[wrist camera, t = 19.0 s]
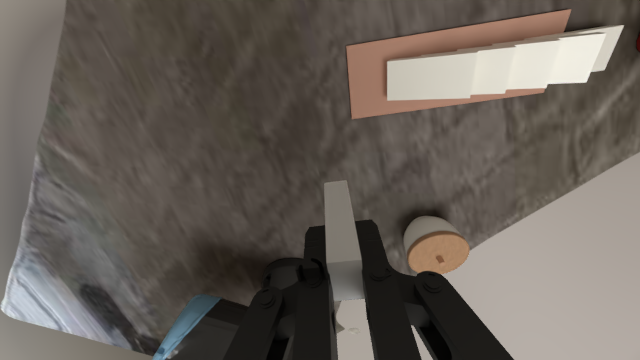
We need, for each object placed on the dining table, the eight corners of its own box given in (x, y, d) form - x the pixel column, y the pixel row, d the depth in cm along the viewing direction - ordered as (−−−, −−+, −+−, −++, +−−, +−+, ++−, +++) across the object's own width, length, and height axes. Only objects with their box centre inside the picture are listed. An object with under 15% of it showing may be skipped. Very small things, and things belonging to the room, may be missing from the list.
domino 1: (387, 100, 33) (469, 98, 29) (387, 61, 31) (478, 52, 26) (390, 96, 35) (469, 94, 30) (390, 59, 32) (477, 50, 28)
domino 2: (417, 96, 33) (504, 93, 29) (419, 57, 31) (516, 46, 26) (418, 92, 35) (502, 89, 30) (421, 54, 32) (513, 45, 28)
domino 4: (485, 86, 32) (586, 82, 28) (493, 45, 30) (606, 33, 25) (484, 83, 34) (580, 78, 29) (492, 43, 31) (599, 31, 27)
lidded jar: (460, 214, 47) (488, 250, 39) (431, 249, 53) (451, 288, 45) (412, 200, 46) (432, 235, 38) (388, 238, 51) (400, 276, 43)
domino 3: (451, 91, 33) (546, 87, 28) (457, 51, 30) (562, 40, 26) (452, 88, 34) (542, 84, 30) (457, 49, 32) (557, 38, 27)
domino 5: (523, 81, 32) (604, 70, 31) (536, 38, 29) (624, 25, 29) (513, 79, 34) (589, 68, 33) (524, 38, 31) (607, 25, 30)
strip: (351, 117, 37) (351, 119, 37) (346, 45, 32) (346, 46, 32) (540, 91, 35) (543, 92, 34) (567, 9, 30) (571, 9, 29)
